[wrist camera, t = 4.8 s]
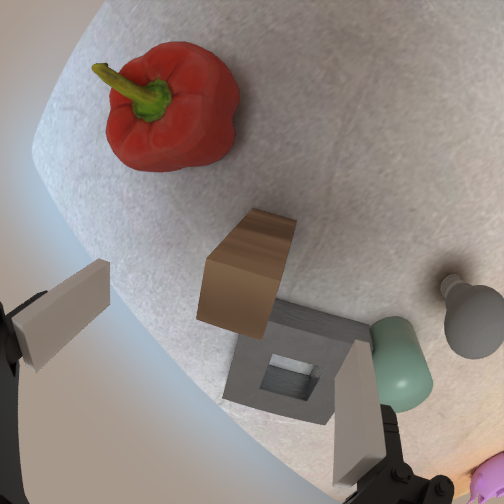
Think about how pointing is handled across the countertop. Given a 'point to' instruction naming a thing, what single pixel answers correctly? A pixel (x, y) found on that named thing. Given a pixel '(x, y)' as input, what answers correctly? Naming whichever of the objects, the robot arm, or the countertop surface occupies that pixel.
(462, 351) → the light bulb
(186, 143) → the vegetable
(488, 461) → the teapot
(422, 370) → the green round bit
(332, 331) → the bore block
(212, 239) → the countertop surface
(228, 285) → the walnut square peg
